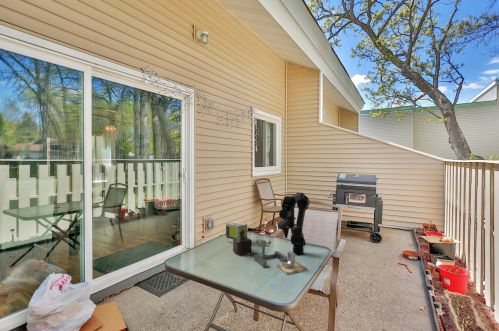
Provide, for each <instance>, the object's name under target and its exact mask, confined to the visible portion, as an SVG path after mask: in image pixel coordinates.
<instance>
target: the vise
mask: <svg viewBox="0 0 499 331" xmlns="http://www.w3.org/2000/svg"><path fill="white" fill-rule="evenodd" d="M270 259H278V260H279V261H280V262H281V263H283V262H288V256H286V255H285V254H283V253H282V252H280V251H279V250H275V251H274V253H273V254H272V253H271V254H266V255H261V256H260V255H259V254H254V262H256V263H257V264H258V265H259V266H260V267H262V268H267V266H268V265H267V264H268V261H267V260H270Z"/></svg>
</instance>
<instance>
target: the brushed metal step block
mask: <svg viewBox="0 0 499 331" xmlns="http://www.w3.org/2000/svg"><path fill="white" fill-rule="evenodd" d="M295 261H296V254H295V253H294V252H293V251H287V262H281V263H282V267H283V268H284V269H287V268H291V267H295Z"/></svg>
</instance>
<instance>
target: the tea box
mask: <svg viewBox="0 0 499 331" xmlns="http://www.w3.org/2000/svg"><path fill="white" fill-rule="evenodd" d="M241 229H243V231H245V234H246V237H248V223H243V222H238V221H230V222H227V223H225V240H226V241H225V242H227V241H228V243H230V242H231V243H230V244H233V238H237V237H239V236H240V234H239V231H240V230H241ZM243 236H244V235H243Z"/></svg>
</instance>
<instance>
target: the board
mask: <svg viewBox="0 0 499 331" xmlns="http://www.w3.org/2000/svg"><path fill="white" fill-rule="evenodd" d="M282 263H283V262H281V263H279V264H278V263H277V264H275V267H276V268H277V269H278V270H280V271H281V272H282V273H283V274H286V275H291V274H295V273H300V272H304V271H308V267H306V266H305V265H303V264H302V263H300V262H299V261H297V260H295V267H291V268H287V269H284V268H283V267H282Z"/></svg>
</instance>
